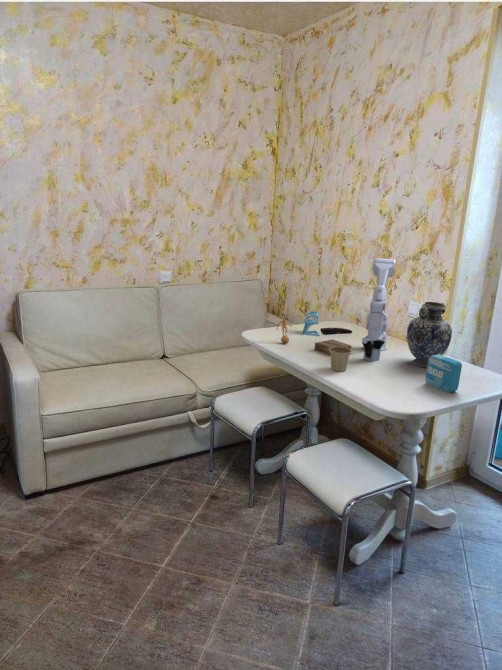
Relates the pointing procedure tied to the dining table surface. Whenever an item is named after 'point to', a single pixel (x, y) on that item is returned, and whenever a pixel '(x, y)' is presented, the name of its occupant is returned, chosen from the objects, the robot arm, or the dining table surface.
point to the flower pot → (339, 358)
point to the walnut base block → (329, 346)
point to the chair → (310, 323)
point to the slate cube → (373, 355)
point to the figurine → (284, 338)
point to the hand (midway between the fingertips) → (371, 356)
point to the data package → (443, 373)
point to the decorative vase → (428, 333)
